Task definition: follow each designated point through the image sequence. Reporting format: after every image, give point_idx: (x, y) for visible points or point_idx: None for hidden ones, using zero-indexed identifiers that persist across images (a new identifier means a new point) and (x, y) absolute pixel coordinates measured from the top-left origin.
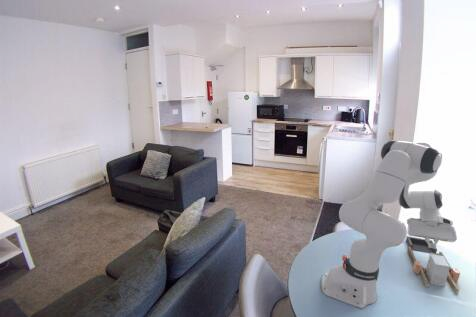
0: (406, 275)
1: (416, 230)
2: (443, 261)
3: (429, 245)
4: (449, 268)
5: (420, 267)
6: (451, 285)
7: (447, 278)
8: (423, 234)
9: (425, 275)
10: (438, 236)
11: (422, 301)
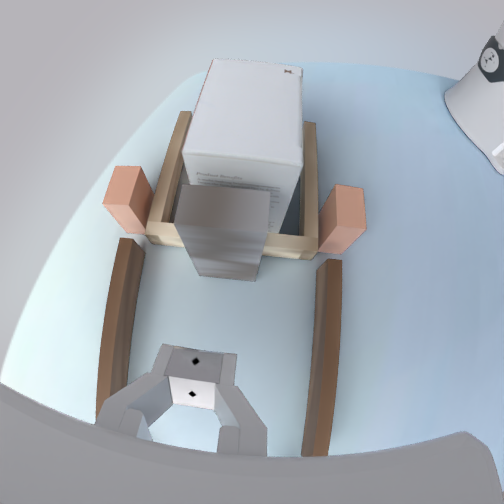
0: (376, 201)
1: (434, 496)
2: (228, 87)
3: (234, 360)
4: (129, 249)
5: (332, 192)
6: (183, 161)
7: (171, 210)
8: (326, 473)
9: (305, 168)
10: (76, 442)
11: (336, 87)
